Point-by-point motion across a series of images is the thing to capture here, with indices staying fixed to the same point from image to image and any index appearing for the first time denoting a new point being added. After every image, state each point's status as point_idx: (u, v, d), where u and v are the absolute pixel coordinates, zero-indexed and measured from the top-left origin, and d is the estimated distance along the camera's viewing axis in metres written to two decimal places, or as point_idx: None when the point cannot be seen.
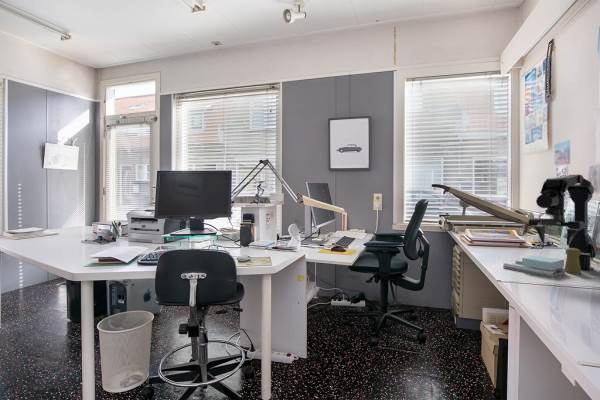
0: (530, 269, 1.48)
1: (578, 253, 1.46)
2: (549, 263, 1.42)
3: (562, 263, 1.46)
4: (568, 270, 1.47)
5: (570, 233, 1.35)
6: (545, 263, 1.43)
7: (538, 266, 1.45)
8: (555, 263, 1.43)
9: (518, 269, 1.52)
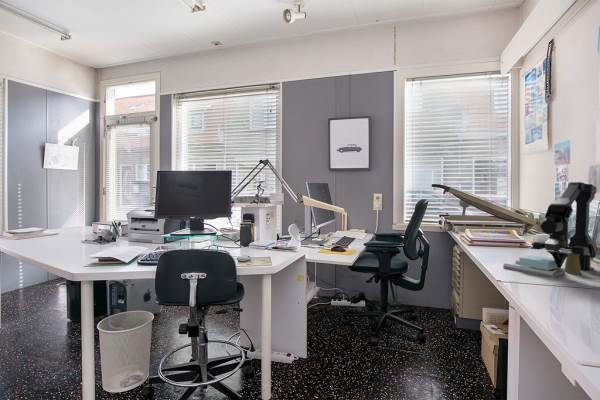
0: (530, 269, 1.48)
1: None
2: (546, 262, 1.43)
3: None
4: (568, 270, 1.47)
5: (562, 256, 1.41)
6: (542, 262, 1.44)
7: (535, 265, 1.46)
8: (552, 262, 1.44)
9: (518, 269, 1.52)
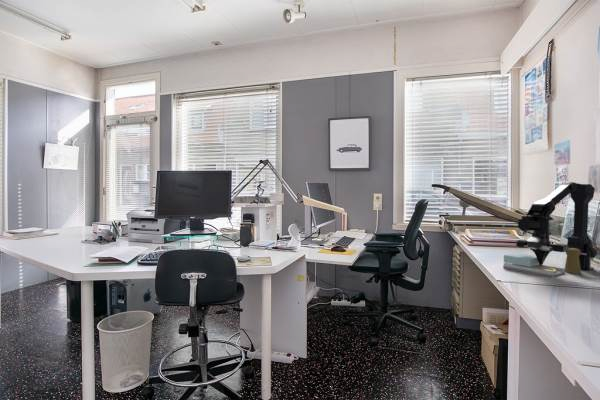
0: (530, 269, 1.48)
1: (578, 253, 1.46)
2: (528, 260, 1.49)
3: None
4: (568, 270, 1.47)
5: (543, 254, 1.47)
6: (524, 260, 1.50)
7: (518, 263, 1.52)
8: (534, 260, 1.50)
9: (518, 269, 1.52)
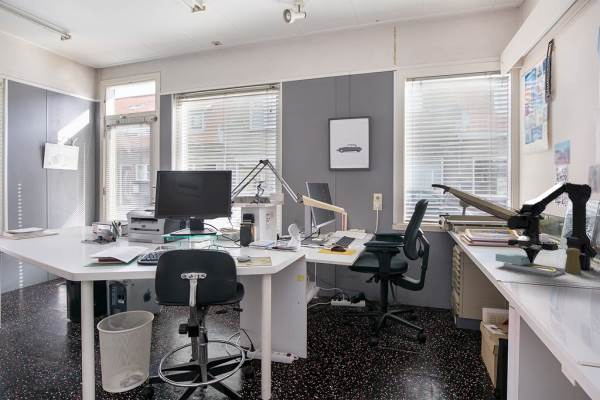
0: (530, 269, 1.48)
1: (578, 253, 1.46)
2: (519, 258, 1.52)
3: None
4: (568, 270, 1.47)
5: (533, 252, 1.50)
6: (515, 258, 1.53)
7: (509, 261, 1.56)
8: (525, 258, 1.53)
9: (518, 269, 1.52)
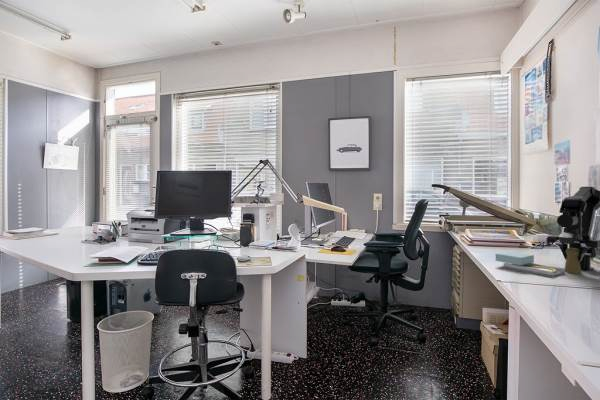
0: (530, 269, 1.48)
1: (578, 253, 1.46)
2: (519, 258, 1.52)
3: (532, 258, 1.56)
4: (568, 270, 1.47)
5: (582, 250, 1.44)
6: (515, 258, 1.53)
7: (509, 261, 1.56)
8: (525, 258, 1.53)
9: (518, 269, 1.52)
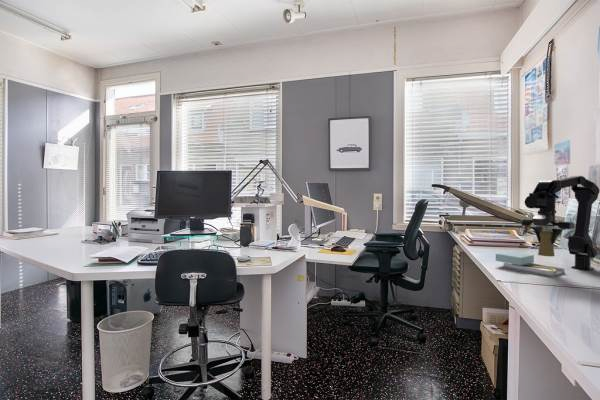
0: (530, 269, 1.48)
1: (551, 235, 1.46)
2: (519, 258, 1.52)
3: (532, 258, 1.56)
4: (541, 252, 1.47)
5: (555, 232, 1.44)
6: (515, 258, 1.53)
7: (509, 261, 1.56)
8: (525, 258, 1.53)
9: (518, 269, 1.52)
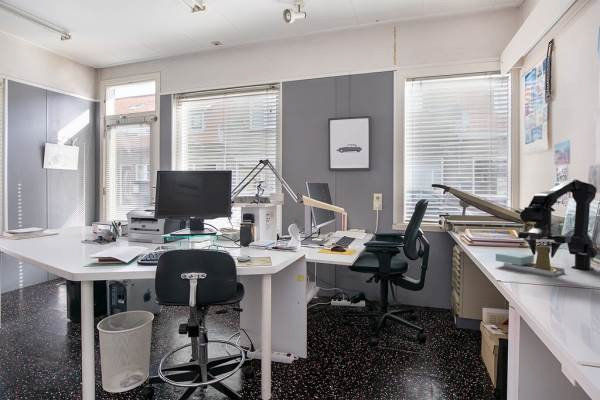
0: (530, 269, 1.48)
1: (548, 251, 1.46)
2: (519, 258, 1.52)
3: (532, 258, 1.56)
4: (538, 268, 1.48)
5: (554, 246, 1.43)
6: (515, 258, 1.53)
7: (509, 261, 1.56)
8: (525, 258, 1.53)
9: (518, 269, 1.52)
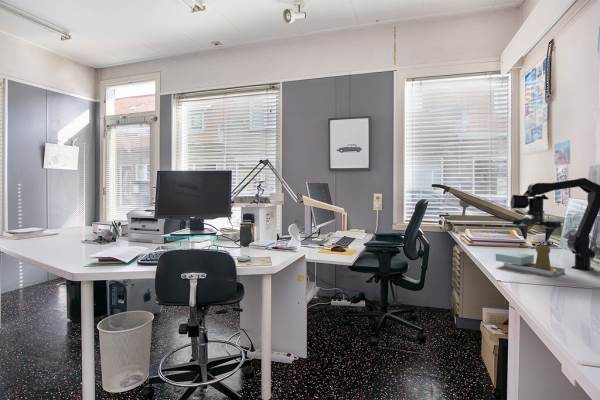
0: (530, 269, 1.48)
1: (548, 250, 1.46)
2: (519, 258, 1.52)
3: (532, 258, 1.56)
4: (538, 268, 1.48)
5: (548, 231, 1.55)
6: (515, 258, 1.53)
7: (509, 261, 1.56)
8: (525, 258, 1.53)
9: (518, 269, 1.52)
